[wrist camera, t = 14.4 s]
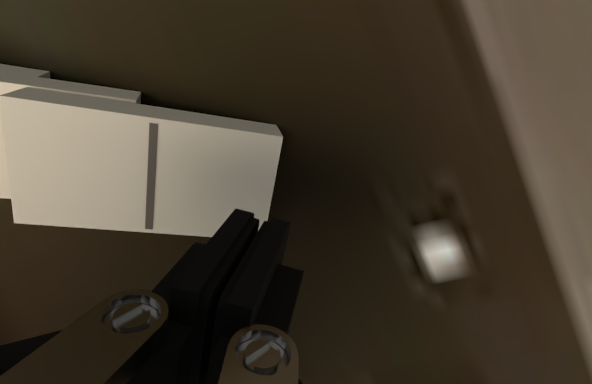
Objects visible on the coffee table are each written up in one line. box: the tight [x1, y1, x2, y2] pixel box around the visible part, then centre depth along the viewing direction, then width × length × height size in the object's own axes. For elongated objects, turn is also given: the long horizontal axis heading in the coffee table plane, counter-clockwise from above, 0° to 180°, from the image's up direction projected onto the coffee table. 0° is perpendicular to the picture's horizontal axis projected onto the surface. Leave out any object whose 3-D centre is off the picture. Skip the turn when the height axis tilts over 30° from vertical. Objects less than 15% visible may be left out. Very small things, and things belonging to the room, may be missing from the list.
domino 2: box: [0, 87, 283, 237], centre depth 15 cm, size 2×5×10 cm
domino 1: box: [0, 72, 141, 199], centre depth 16 cm, size 2×5×10 cm
